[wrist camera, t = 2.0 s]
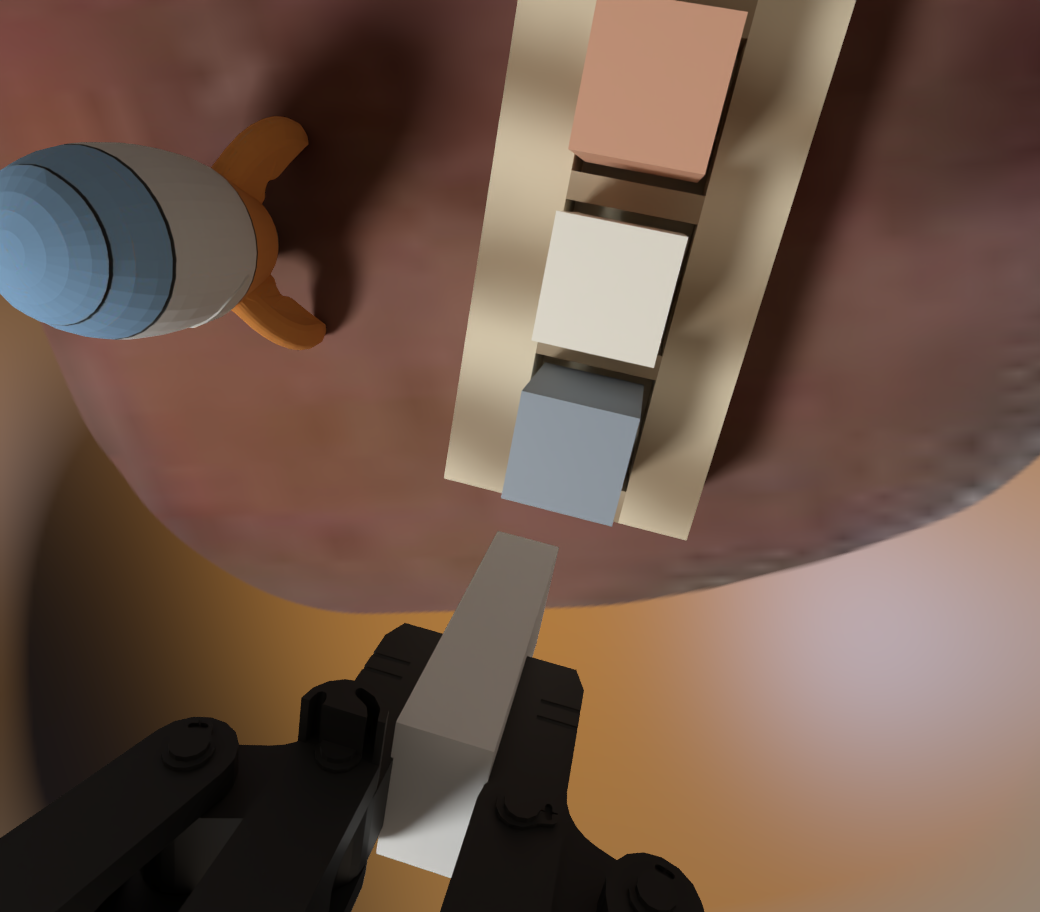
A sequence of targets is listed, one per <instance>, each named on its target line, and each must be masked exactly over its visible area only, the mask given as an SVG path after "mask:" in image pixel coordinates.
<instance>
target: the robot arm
mask: <svg viewBox="0 0 1040 912" xmlns="http://www.w3.org/2000/svg"><path fill="white" fill-rule="evenodd" d="M558 549H559V547H557V546H553V545H549V544H545V543H541V542H538V541H534V540H530V539H526V538H522V537H519V536H515V535H511V534H507V533H503V532H500V531H498V532H497V534H496V535H495V537H494V539H493V541H492V543H491V545H490V547H489V549H488V550H487V552H486V554H485V556H484V558H483V560H482V562H481V564H480V565H479V567H478V569H477V571H476V573H475V575H474V577H473V579H472V580H471V582H470V584H469V586H468V588H467V590H466V592H465V594H464V595H463V597H462V599H461V601H460V603H459V605H458V607H457V609H456V610H455V612H454V614H453V616H452V618H451V620H450V622H449V624H448V625H447V627H446V629H445V631H444V633H443V634H442V633H438V632H435V631H431V630H428V629H424V628H421V627H417V626H413V625H410V624H406V623H404V624H403V625H401V626H399V627H398V628H396V629H394V630H393V631H391V632H390V633H388V634H386V635H385V636H384V638H383V639H382V641H381V642H380V644H379V645H378V647H377V648H376V650H375V651H374V654H373V655H372V656H371V657H370V659H369V660H368V662H367V663H366V664H365V667H364V669H363V670H362V671H361V672H360V674H359V675H358V676H357V678H356V680H355V681H353V680H346V679H344V680H336V681H329V682H326V683H324V684H321V685H318V686H316V687H314V688H312V689H311V690H310V691H309V692H308V693H306V694H305V695H304V696H303V697H302V699H301V711H300V723H299V735H298V741H297V742H294V743H290V744H286V745H273V746H262V745H239V743H238V740H237V735H236V732H235V731H234V730H233V729H232V728H231V727H230V726H229V725H228V724H227V723H225V722H222V721H219V720H217V719H214V718H208V717H191V718H187V719H182V720H178V721H174V722H172V723H170V724H168V725H166V726H164V727H162V728H160V729H158V730H157V731H155V732H154V733H152V734H151V735H149V736H148V737H146V738H145V739H144V740H142V741H141V742H139V743H138V744H136V745H135V746H133V747H132V748H130V749H129V750H128V751H126V752H125V753H124V754H122V755H120V756H119V757H117V758H116V759H115V760H113V761H112V762H110V763H109V764H107V765H106V766H104V767H103V768H101V769H100V770H99V771H97V772H96V773H94V774H93V775H91V776H90V777H88V778H87V779H85V780H84V781H83V782H81V783H80V784H78V785H77V786H75V787H74V788H73V789H71V790H70V791H68V792H67V793H65V794H64V795H62V796H61V797H59V798H58V799H56V800H55V801H54V802H52V803H51V804H49V805H48V806H46V807H45V808H44V809H42V810H41V811H39V812H38V813H36V814H35V815H33V816H32V817H30V818H29V819H27V820H26V821H25V822H23V823H22V824H20V825H19V826H17V827H16V828H14V829H13V830H12V831H10V832H9V833H7V834H6V835H4V836H3V837H1V838H0V912H351V910H352V908H353V906H354V904H355V902H356V899H357V897H358V895H359V892H360V890H361V888H362V885H363V881H364V876H365V872H366V865H367V859H368V857H369V855H370V853H371V851H372V849H373V846H374V844H375V842H376V840H377V838H378V836H379V838H378V845H377V854H380V855H383V856H386V857H389V858H392V859H395V860H398V861H401V862H404V863H407V864H410V865H413V866H416V867H419V868H422V869H425V870H428V871H431V872H434V873H437V874H440V875H443V876H446V877H449V878H451V880H450V883H449V886H448V889H447V892H446V895H445V898H444V902H443V904H442V907H441V911H440V912H704V909H703V905H702V903H701V900H700V898H699V896H698V894H697V892H696V890H695V888H694V885H693V884H692V883H691V882H690V881H689V879H688V878H687V877H686V876H685V875H684V874H683V873H682V871H681V870H680V869H679V868H677V867H676V866H674V865H673V864H671V863H669V862H668V861H666V860H665V859H663V858H662V857H658V856H654V855H651V854H647V853H633V854H626V855H625V856H623V857H622V858H620V859H618V860H616V859H614V858H613V857H611V856H609V855H608V854H606V853H605V852H604V851H602V850H600V849H599V848H597V847H596V846H595V845H594V844H592V843H591V842H590V841H589V840H588V839H586V838H585V837H584V836H583V834H582V833H581V832H580V831H579V830H578V828H577V827H576V826H575V824H574V822H573V820H572V818H571V816H570V814H569V810H568V806H567V789H568V782H569V776H570V771H571V764H572V758H573V752H574V746H575V740H576V734H577V728H578V722H579V716H580V710H581V704H582V698H583V692H584V690H583V687H582V684H581V682H580V679H579V676H578V674H577V671H576V670H574V669H571V668H567V667H564V666H560V665H556V664H553V663H549V662H546V661H542V660H539V659H536V658H532V656H533V652H534V649H535V646H536V643H537V639H538V634H539V630H540V626H541V621H542V617H543V613H544V609H545V605H546V600H547V596H548V592H549V588H550V583H551V579H552V575H553V571H554V566H555V562H556V558H557V553H558Z"/></svg>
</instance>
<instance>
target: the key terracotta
mask: <svg viewBox="0 0 1040 912" xmlns="http://www.w3.org/2000/svg"><path fill="white" fill-rule="evenodd" d="M747 14H748V12H745V11H739V10H733V9H726V8H720V7H714V6H707V5H701V4H695V3H688V2H682V1H676V0H597V1H596V6H595V11H594V16H593V22H592V27H591V32H590V37H589V42H588V48H587V53H586V58H585V63H584V69H583V74H582V79H581V84H580V89H579V95H578V100H577V105H576V110H575V115H574V121H573V126H572V131H571V136H570V142H569V147H568V149H569V150H570V151H572V152H573V153H574V154H576V155H577V156H578V157H580V158H581V159H583V160H584V161H585V162H589V163H595V164H600V165H605V166H610V167H616V168H621V169H626V170H631V171H637V172H642V173H647V174H652V175H658V176H663V177H668V178H673V179H679V180H684V181H689V182H694V183H698V181H699V180H700V179H701V178H702V177H703V176H704V175H705V173H706V169H707V165H708V161H709V157H710V154H711V150H712V146H713V142H714V139H715V135H716V131H717V127H718V123H719V120H720V116H721V112H722V108H723V105H724V101H725V97H726V93H727V89H728V86H729V82H730V78H731V74H732V71H733V67H734V63H735V59H736V55H737V52H738V48H739V44H740V40H741V37H742V33H743V29H744V25H745V21H746V18H747Z"/></svg>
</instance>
